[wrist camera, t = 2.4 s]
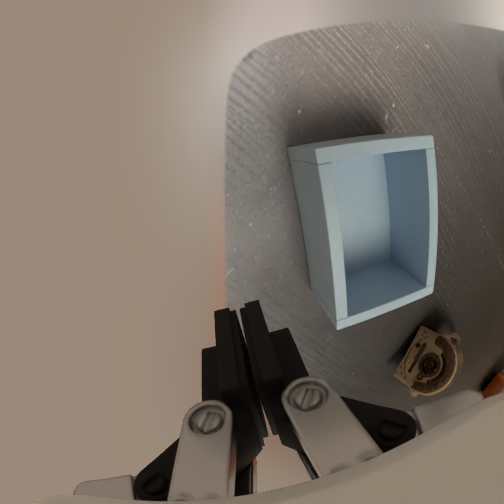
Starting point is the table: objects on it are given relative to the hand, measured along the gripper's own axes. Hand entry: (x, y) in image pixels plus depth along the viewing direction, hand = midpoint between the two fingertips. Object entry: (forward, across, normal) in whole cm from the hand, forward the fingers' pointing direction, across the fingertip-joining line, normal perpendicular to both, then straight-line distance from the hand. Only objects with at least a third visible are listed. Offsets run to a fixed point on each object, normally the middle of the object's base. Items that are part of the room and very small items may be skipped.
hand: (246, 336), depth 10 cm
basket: (+10, -9, 0) cm, 14 cm away
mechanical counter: (+10, -19, +20) cm, 29 cm away
